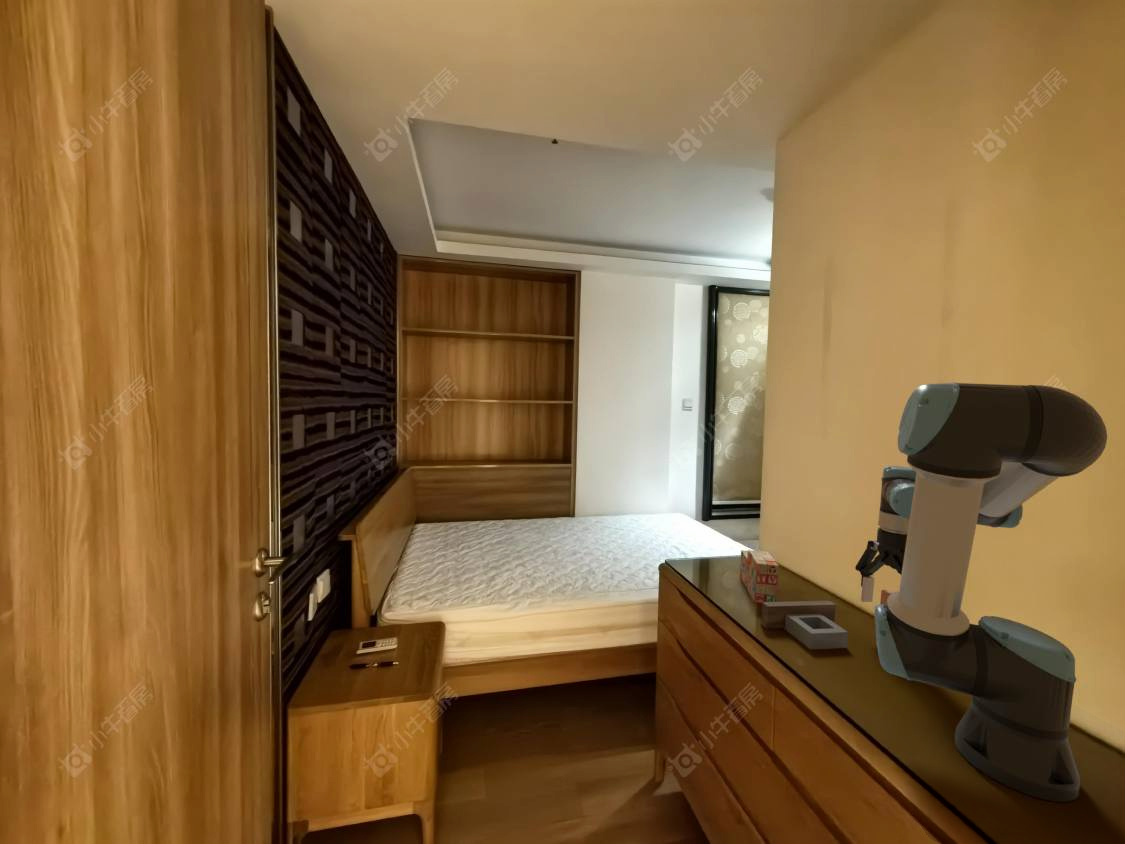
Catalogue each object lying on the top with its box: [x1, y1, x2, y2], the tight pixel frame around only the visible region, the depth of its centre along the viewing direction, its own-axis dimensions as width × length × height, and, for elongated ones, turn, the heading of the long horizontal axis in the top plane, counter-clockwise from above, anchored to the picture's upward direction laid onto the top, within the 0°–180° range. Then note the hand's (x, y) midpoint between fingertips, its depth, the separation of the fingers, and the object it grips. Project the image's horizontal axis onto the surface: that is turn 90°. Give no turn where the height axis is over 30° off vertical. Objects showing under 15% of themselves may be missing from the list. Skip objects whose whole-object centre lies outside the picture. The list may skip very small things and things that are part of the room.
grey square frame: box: [784, 613, 849, 651], centre depth 120 cm, size 10×10×4 cm
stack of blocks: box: [739, 549, 780, 605], centre depth 149 cm, size 21×6×12 cm, turn 171°
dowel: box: [875, 589, 896, 647], centre depth 116 cm, size 4×4×14 cm
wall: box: [760, 600, 837, 629], centre depth 126 cm, size 2×20×6 cm, turn 99°
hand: (888, 613), depth 116 cm, fingers open, 13 cm apart
